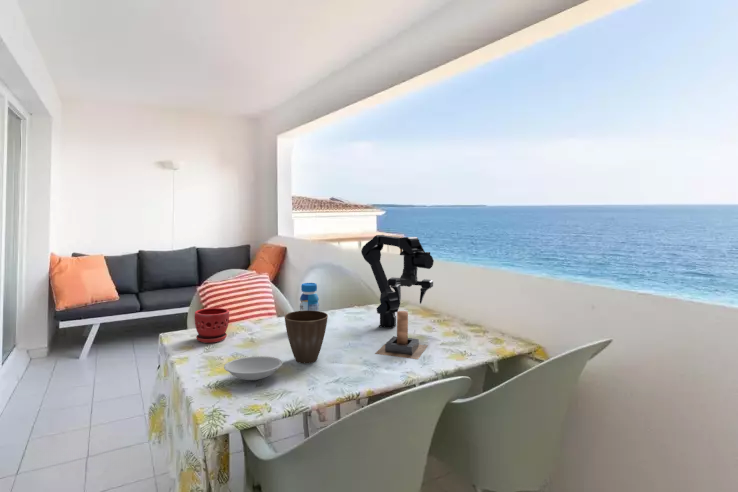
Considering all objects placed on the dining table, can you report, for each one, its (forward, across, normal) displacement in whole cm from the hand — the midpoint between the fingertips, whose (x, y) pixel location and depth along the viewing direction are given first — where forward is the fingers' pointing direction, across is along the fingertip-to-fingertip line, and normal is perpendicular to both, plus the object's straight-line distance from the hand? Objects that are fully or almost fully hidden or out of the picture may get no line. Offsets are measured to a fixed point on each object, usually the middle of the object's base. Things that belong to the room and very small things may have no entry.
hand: (409, 302), depth 182 cm
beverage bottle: (+13, -43, -10) cm, 46 cm away
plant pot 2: (+13, -25, -45) cm, 53 cm away
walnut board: (+13, +4, -25) cm, 28 cm away
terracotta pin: (+12, +4, -25) cm, 28 cm away
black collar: (+12, +4, -25) cm, 28 cm away
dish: (+13, -32, -66) cm, 74 cm away
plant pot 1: (+13, -72, -38) cm, 82 cm away
